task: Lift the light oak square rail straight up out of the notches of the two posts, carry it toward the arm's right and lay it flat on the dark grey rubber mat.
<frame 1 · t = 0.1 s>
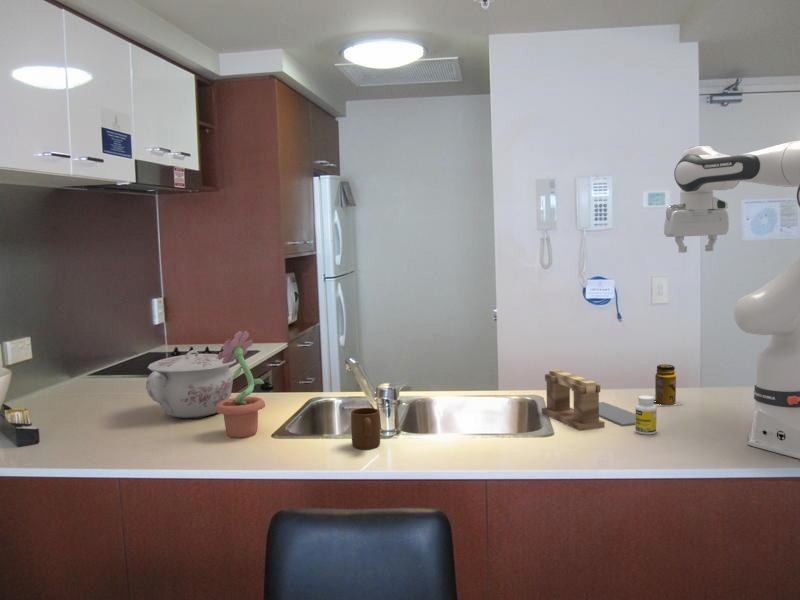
hand: (696, 251, 208), 48 cm above the worktop, fingers open, 8 cm apart
chamber pot: (194, 414, 231), on the worktop
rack: (571, 419, 210), on the worktop
mat: (612, 414, 214), on the worktop
mug: (367, 448, 189), on the worktop
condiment: (662, 403, 226), on the worktop
rail: (571, 381, 209), point 11 cm above the worktop, touching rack
decorative flower: (243, 434, 206), on the worktop
supplement bottle: (645, 432, 195), on the worktop
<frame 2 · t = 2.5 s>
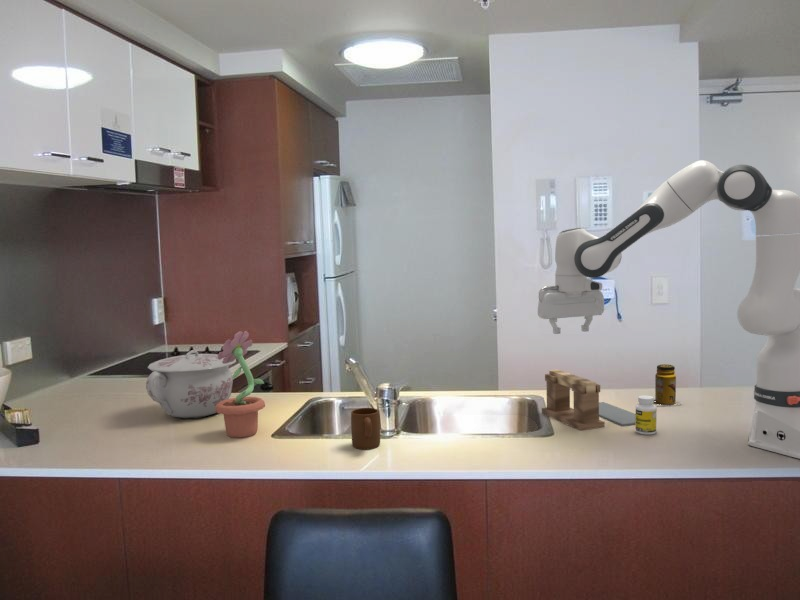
hand: (571, 332, 207), 26 cm above the worktop, fingers open, 8 cm apart
nothing on the worktop moved.
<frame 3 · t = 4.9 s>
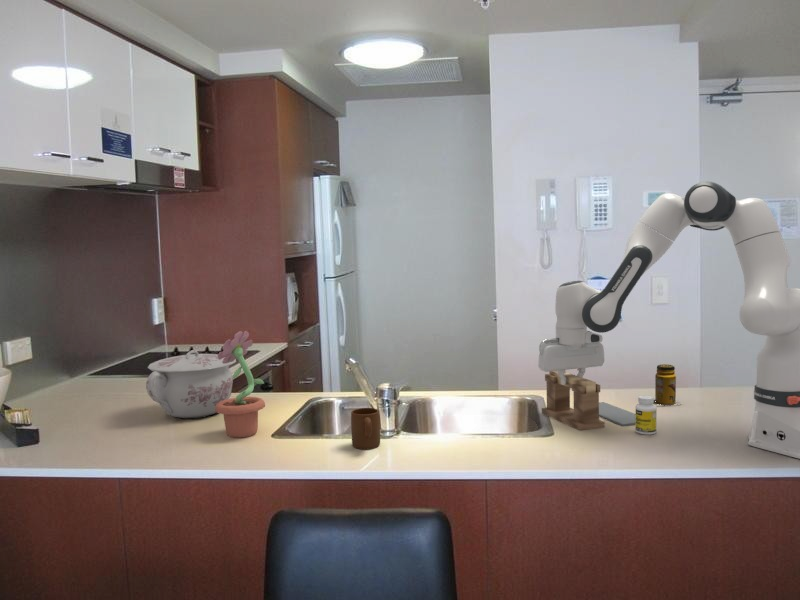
hand: (571, 383, 209), 11 cm above the worktop, fingers closed on rail, 3 cm apart
rail: (571, 381, 209), point 11 cm above the worktop, touching gripper, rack
everything else where it was.
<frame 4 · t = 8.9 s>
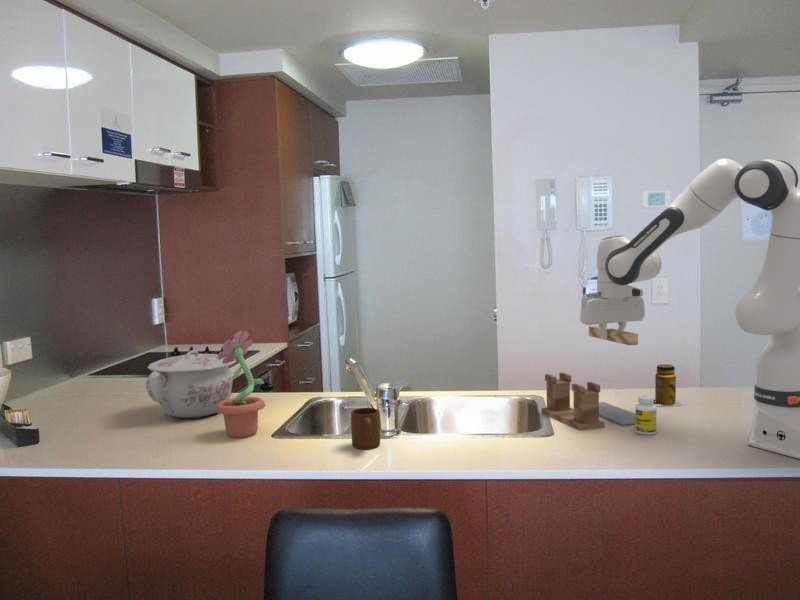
hand: (612, 337, 212), 23 cm above the worktop, fingers closed on rail, 3 cm apart
rail: (612, 335, 212), point 24 cm above the worktop, touching gripper
everything else where it was.
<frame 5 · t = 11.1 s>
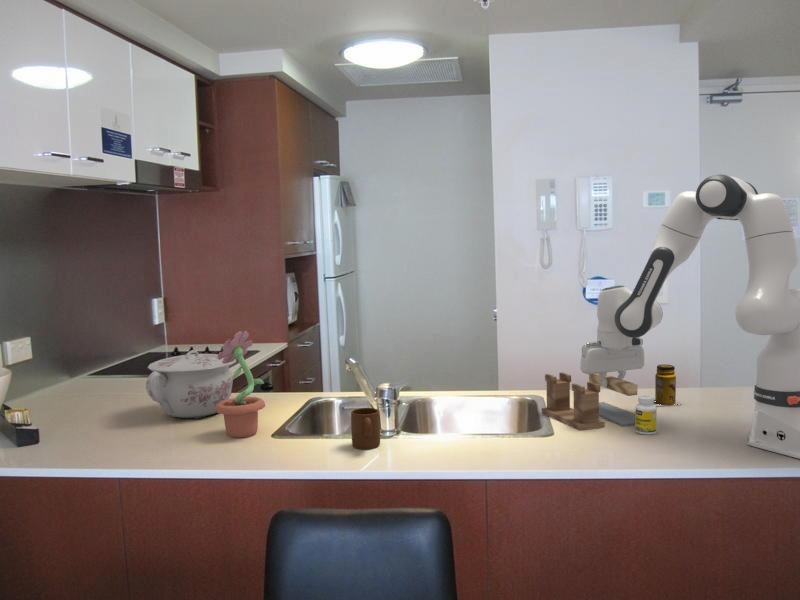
hand: (612, 385, 214), 9 cm above the worktop, fingers closed on rail, 3 cm apart
rail: (612, 383, 214), point 9 cm above the worktop, touching gripper
everything else where it was.
when the fingers open (3 cm above the worktop, at t = 13.1 s): rail drops 2 cm, resting on mat.
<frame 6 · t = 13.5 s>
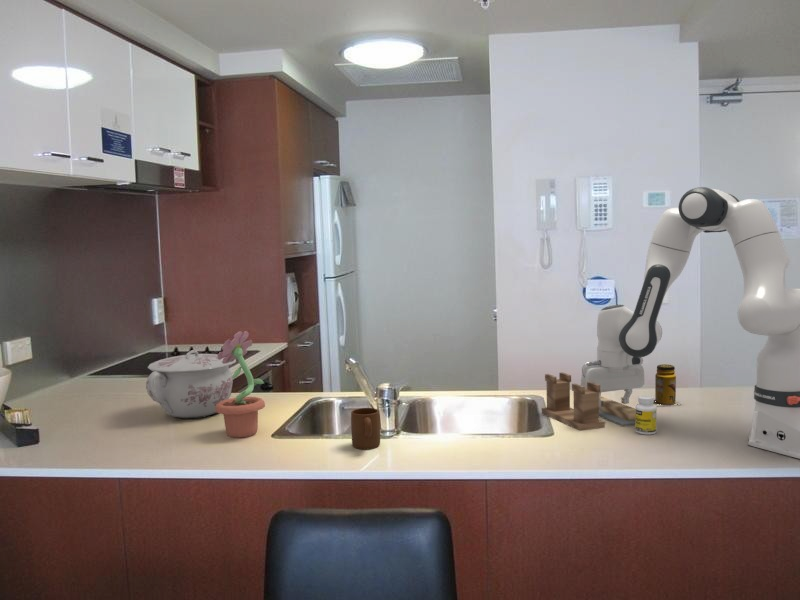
hand: (612, 404, 214), 3 cm above the worktop, fingers open, 7 cm apart
rail: (612, 407, 214), point 2 cm above the worktop, touching mat
everything else where it was.
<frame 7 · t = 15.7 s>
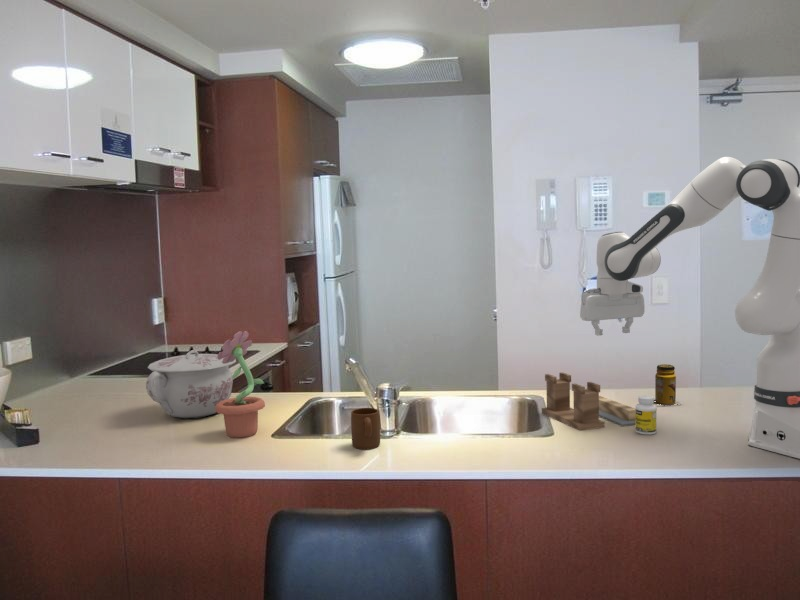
hand: (612, 334, 212), 24 cm above the worktop, fingers open, 8 cm apart
nothing on the worktop moved.
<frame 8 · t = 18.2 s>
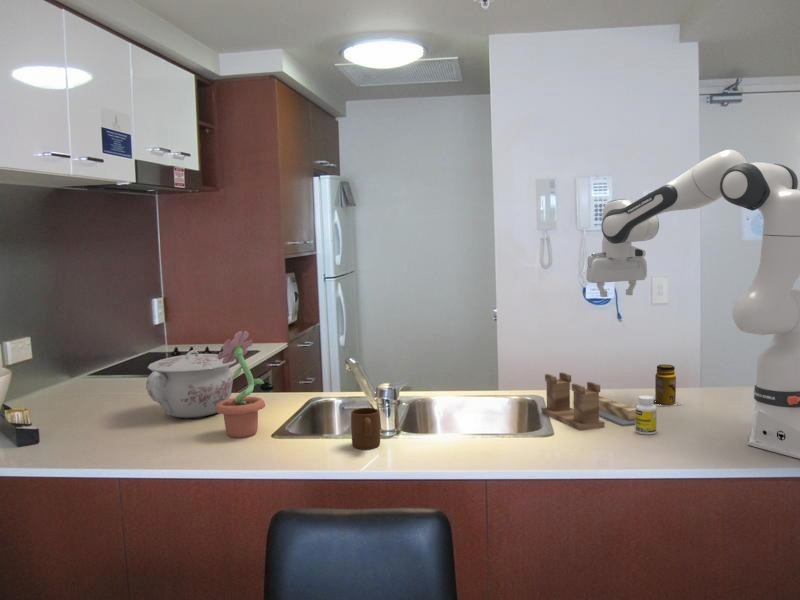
hand: (616, 295, 225), 34 cm above the worktop, fingers open, 8 cm apart
nothing on the worktop moved.
at the end: rail inside the target area on the mat (0.0 cm from its centre), point 2.1 cm above the mat's base; rail touching mat; the gripper is holding nothing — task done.
